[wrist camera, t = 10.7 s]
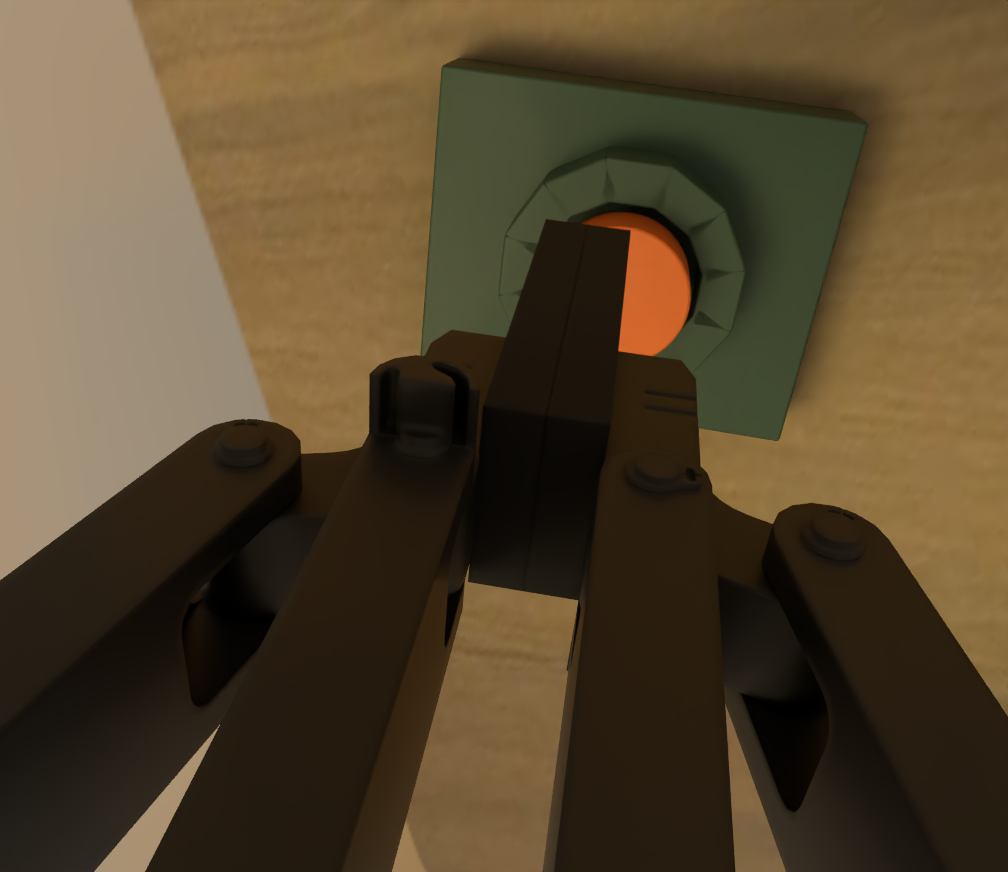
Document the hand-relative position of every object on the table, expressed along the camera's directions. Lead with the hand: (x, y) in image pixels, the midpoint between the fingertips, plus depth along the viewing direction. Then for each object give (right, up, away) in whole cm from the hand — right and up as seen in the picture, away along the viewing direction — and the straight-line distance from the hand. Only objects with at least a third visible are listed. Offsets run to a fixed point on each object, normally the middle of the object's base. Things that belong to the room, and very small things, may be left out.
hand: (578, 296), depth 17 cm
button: (+2, +2, +10) cm, 11 cm away
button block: (+3, +4, +13) cm, 14 cm away
